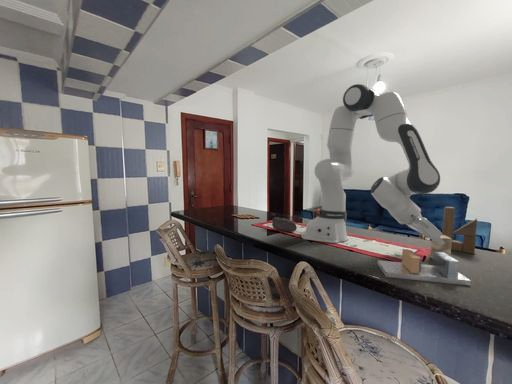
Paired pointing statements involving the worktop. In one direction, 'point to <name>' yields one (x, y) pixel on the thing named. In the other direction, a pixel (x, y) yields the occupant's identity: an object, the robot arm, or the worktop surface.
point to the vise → (428, 270)
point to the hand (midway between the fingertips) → (435, 240)
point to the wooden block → (459, 232)
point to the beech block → (444, 248)
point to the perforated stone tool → (283, 224)
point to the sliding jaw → (411, 261)
